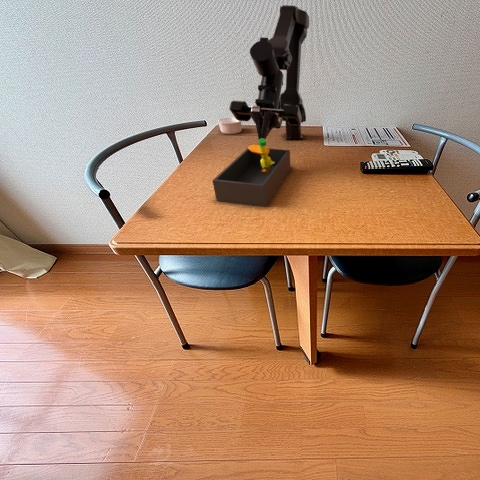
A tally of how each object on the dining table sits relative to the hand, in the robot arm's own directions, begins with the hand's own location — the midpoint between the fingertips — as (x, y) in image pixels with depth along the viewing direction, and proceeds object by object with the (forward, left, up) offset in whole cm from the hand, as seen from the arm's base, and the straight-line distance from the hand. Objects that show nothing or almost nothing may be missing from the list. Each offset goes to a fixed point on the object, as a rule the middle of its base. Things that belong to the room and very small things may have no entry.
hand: (261, 142), depth 77 cm
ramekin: (-43, -8, -9) cm, 45 cm away
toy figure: (-1, +1, -8) cm, 9 cm away
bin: (+5, -2, -9) cm, 11 cm away
